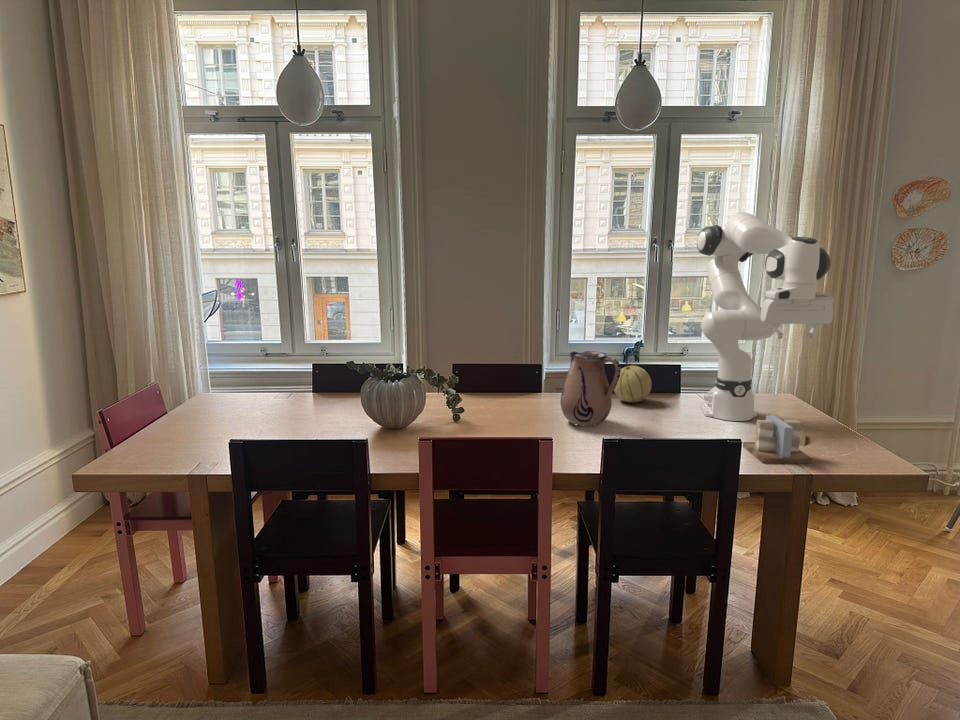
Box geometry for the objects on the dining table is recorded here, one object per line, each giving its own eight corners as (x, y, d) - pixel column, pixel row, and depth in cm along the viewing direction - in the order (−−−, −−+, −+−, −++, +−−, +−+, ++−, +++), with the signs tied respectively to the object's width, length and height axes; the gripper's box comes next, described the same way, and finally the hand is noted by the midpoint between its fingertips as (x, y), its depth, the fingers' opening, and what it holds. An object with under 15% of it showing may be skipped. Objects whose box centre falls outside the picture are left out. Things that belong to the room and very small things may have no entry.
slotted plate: (763, 443, 188) (766, 415, 186) (771, 443, 188) (774, 415, 186) (781, 457, 176) (784, 427, 174) (790, 457, 176) (793, 427, 174)
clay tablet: (770, 430, 207) (771, 423, 206) (803, 435, 202) (804, 427, 202) (769, 443, 194) (770, 435, 194) (805, 448, 190) (806, 440, 189)
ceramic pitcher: (570, 413, 225) (572, 347, 220) (626, 421, 215) (630, 352, 210) (552, 426, 211) (553, 355, 206) (611, 435, 200) (614, 361, 195)
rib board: (742, 446, 190) (745, 414, 188) (788, 446, 189) (791, 414, 187) (762, 463, 176) (765, 428, 174) (811, 463, 176) (815, 428, 174)
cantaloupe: (656, 401, 242) (659, 364, 239) (639, 409, 231) (641, 370, 228) (623, 395, 251) (624, 359, 248) (605, 402, 240) (606, 365, 237)
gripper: (828, 291, 184) (823, 336, 186) (760, 291, 184) (756, 336, 187) (840, 293, 177) (834, 340, 180) (769, 293, 178) (765, 340, 181)
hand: (794, 338), depth 183 cm, fingers open, 8 cm apart
